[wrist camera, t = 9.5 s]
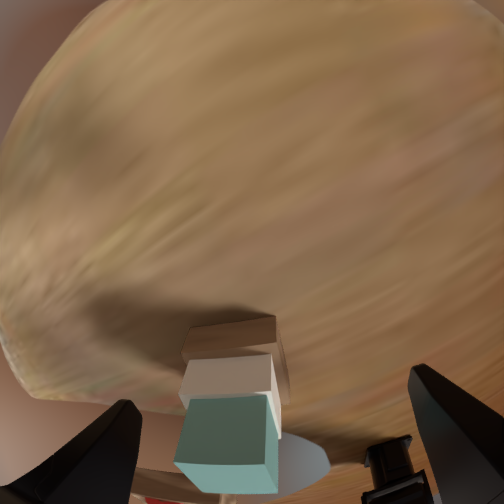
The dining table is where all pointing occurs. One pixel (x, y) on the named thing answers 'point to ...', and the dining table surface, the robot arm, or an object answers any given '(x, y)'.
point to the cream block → (232, 381)
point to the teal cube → (230, 446)
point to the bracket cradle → (173, 489)
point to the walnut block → (240, 346)
